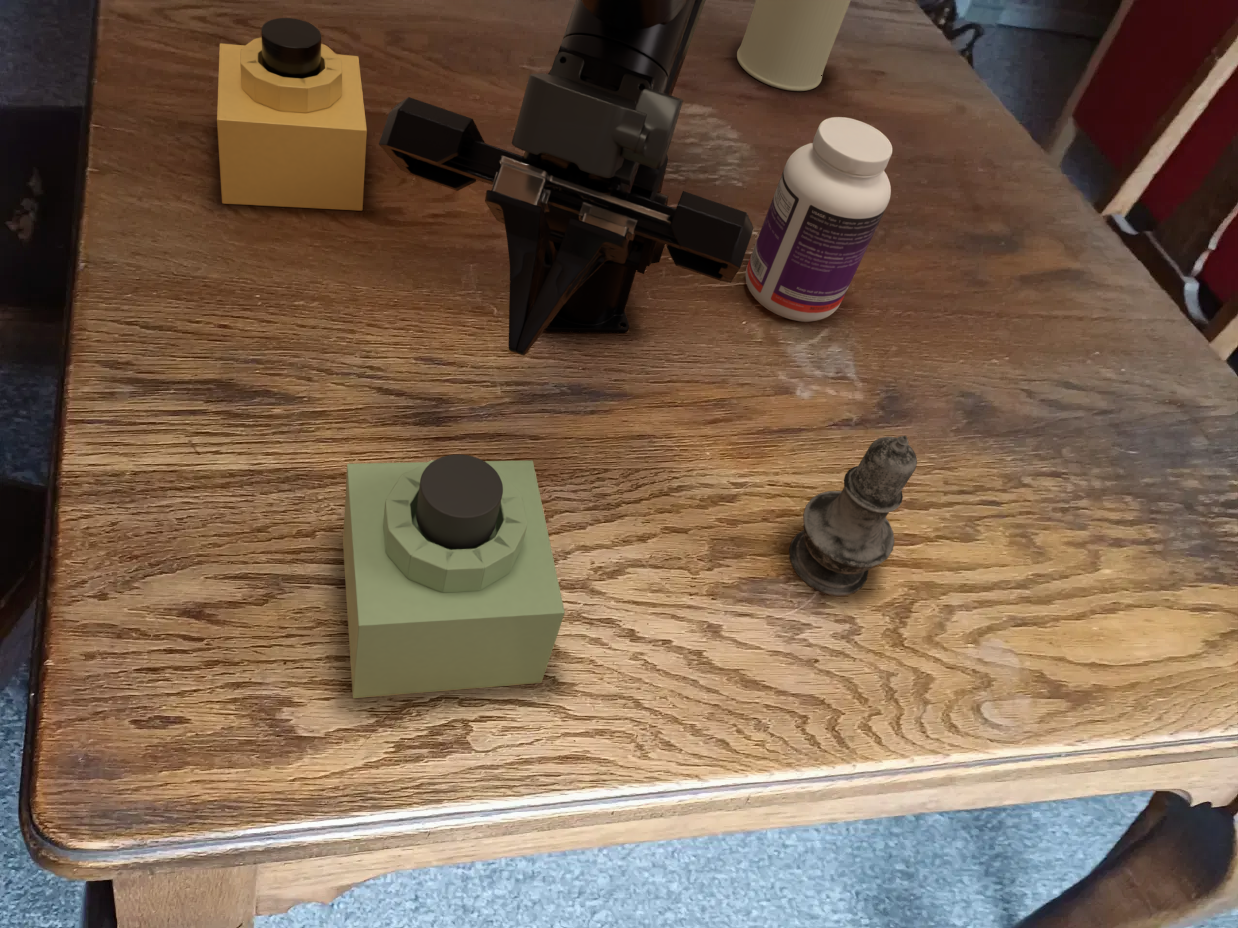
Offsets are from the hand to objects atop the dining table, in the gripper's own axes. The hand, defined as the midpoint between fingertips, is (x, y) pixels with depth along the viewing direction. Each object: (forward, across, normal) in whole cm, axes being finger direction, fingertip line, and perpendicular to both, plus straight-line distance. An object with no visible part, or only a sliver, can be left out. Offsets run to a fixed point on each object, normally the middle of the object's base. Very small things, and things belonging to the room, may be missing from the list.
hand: (516, 353), depth 55 cm
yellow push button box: (-9, -25, +28) cm, 38 cm away
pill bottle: (-13, +15, +32) cm, 38 cm away
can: (-39, +9, +58) cm, 70 cm away
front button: (+9, 0, -2) cm, 9 cm away
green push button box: (+15, 0, +4) cm, 15 cm away
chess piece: (+6, +22, +14) cm, 26 cm away
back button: (-15, -25, +22) cm, 36 cm away
